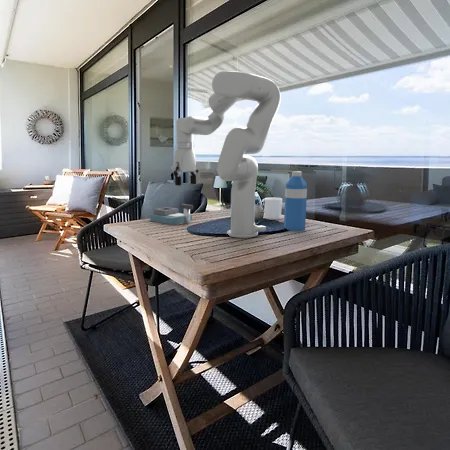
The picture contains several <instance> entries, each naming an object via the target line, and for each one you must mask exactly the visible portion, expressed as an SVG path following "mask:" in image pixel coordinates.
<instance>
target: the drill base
mask: <svg viewBox="0 0 450 450" xmlns="http://www.w3.org/2000/svg"><path fill="white" fill-rule="evenodd" d="M179 211H180V210H179V208H176V207H168V206H165V207H158V208H154V209H153V214H150V215H149V220H150V221H151V222H156V223H162V224H166V225H171V226H172V225H178V224H184V216H181V217H171V216H168V215H171V214H177V213H180V214H184V212H183V213H182V212H179ZM192 221H193V214H191V213H190V222H192Z"/></svg>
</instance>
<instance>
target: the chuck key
mask: <svg viewBox="0 0 450 450" xmlns="http://www.w3.org/2000/svg"><path fill="white" fill-rule="evenodd" d="M179 208H180V209H183V213H184V223H183V224H184V225H190V224H191V221H190V214H191V210H194V205H193V204H186V203H180V204H179Z"/></svg>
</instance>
